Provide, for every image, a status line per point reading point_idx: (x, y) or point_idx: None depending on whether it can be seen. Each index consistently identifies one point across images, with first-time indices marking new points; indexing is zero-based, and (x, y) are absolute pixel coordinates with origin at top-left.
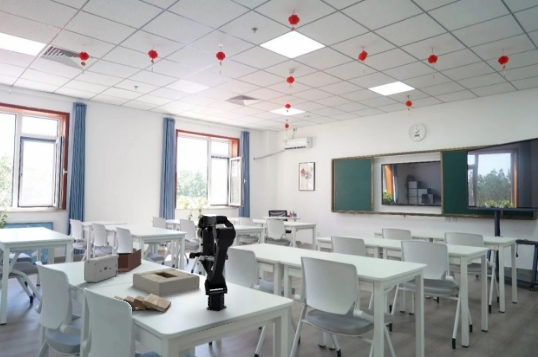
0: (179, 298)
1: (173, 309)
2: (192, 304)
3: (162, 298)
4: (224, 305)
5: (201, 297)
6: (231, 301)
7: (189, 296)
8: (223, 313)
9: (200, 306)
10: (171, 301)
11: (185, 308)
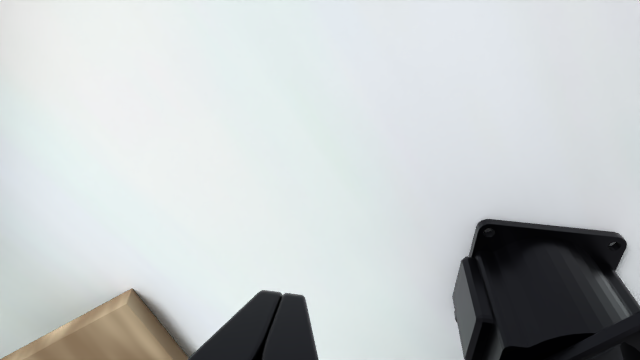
0: (42, 133)
1: None
2: (274, 243)
3: (66, 346)
4: (601, 237)
5: (194, 21)
6: (625, 39)
7: (57, 36)
8: None
9: (369, 268)
10: (126, 304)
11: None
